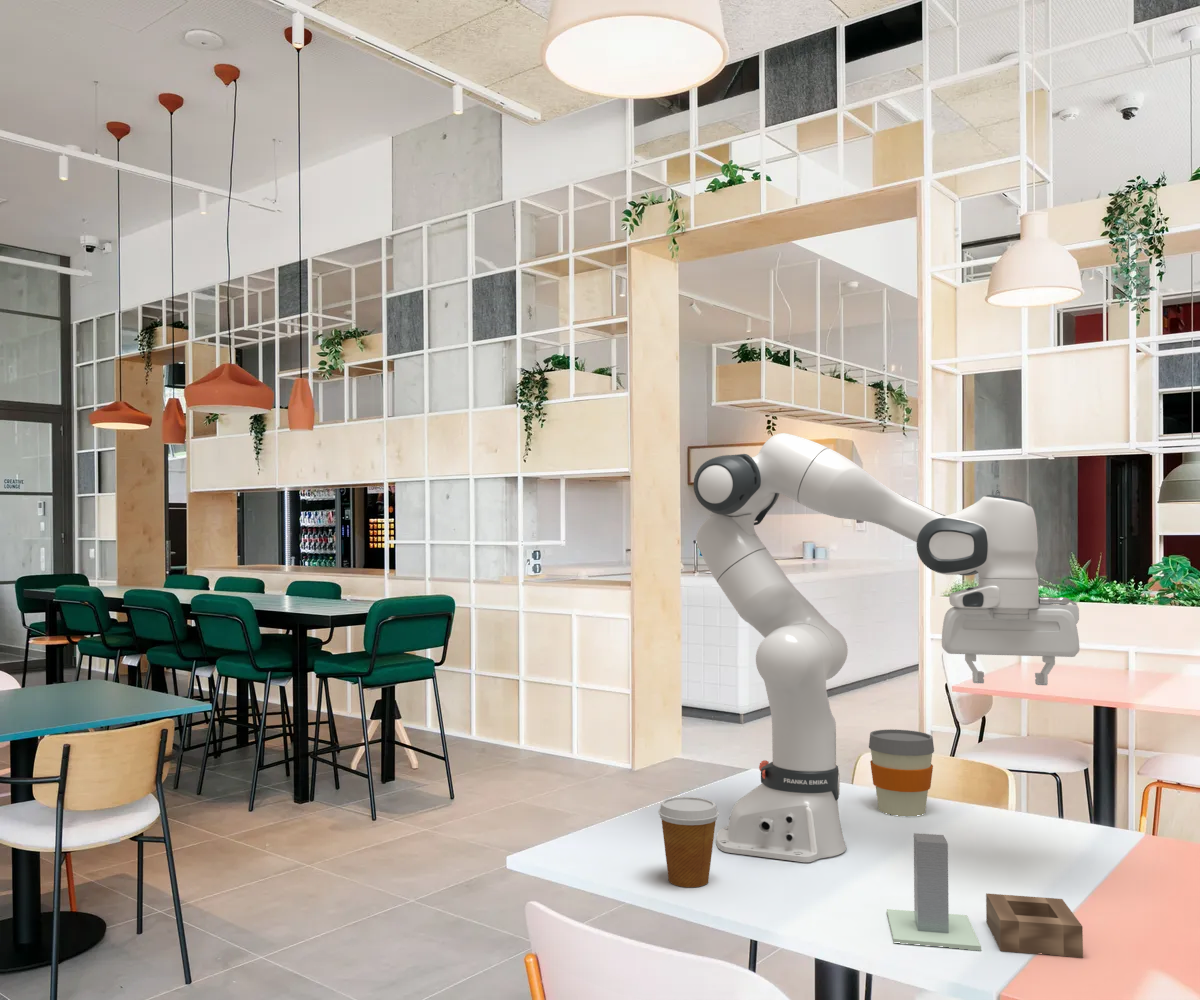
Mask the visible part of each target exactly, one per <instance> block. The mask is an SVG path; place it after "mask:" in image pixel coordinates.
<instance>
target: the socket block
mask: <svg viewBox="0 0 1200 1000" xmlns="http://www.w3.org/2000/svg"><path fill="white" fill-rule="evenodd" d="M985 904H986V905H985V906H986V907H985V909H986V910H985V913H986V916H985V918H986V920H985V921H986V925H987V927H988V928H989V930H990V932H991V934H992V936H994V937H993V939H994V941H995V943H996V944H997V947H998V949H999V951H1000V952H1006V953H1007V952H1009V953H1019V954H1020V953H1021V954H1029V955H1030V954H1033V955H1039V954H1038V953H1042V954H1050V955H1049V956H1054V955H1061V956H1060V957H1066V956H1068V958H1069V957H1070V958H1078V957H1079V958H1080V959H1083V958H1084V946H1083V944H1084V941H1083V936H1084V935H1083V931H1084V930H1083V928H1084V927H1083V925H1082V923H1080V920H1078V918H1077V917H1076V915H1075V914H1074V913H1073V912H1072V910H1071V909H1070V907H1069V906H1068V904H1067V903H1066V902H1065V901H1064V899H1063V898H1053V897H1041V896H1040V897H1039V896H1030V895H1029V896H1028V895H1027V896H1025V895H1012V894H1000V893H999V894H997V893H985ZM1042 954H1041V955H1042Z"/></svg>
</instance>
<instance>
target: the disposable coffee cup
mask: <svg viewBox="0 0 1200 1000" xmlns="http://www.w3.org/2000/svg"><path fill="white" fill-rule="evenodd" d="M719 812H720V811H719V810H717V805H716V803H715V802H714V801H712V800H710V799H707V798H702V797H695V796H678V797H671V798H666V799H665V800H662V801H661V804H660V808H659V809H658V811H657V813H658V815H659V818H660V819H661V824H662V826H661V827H662V828H661V829H662V835H663V843H664V853H665V854H664V855H665V861H666V862H665V863H666V868H667V877H668V881H669V883H671V884H672V885H674V886H676V887H681V888H699V887H702V886H706V885H707V884H708V883H709V881H710V880H709V879H710V871H711V870H710V869H711V862H712V854H713V848H714V847H713V845H714V838H715V830H716V829H715V828H716V821H717V820H718V816H719V814H720V813H719Z"/></svg>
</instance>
